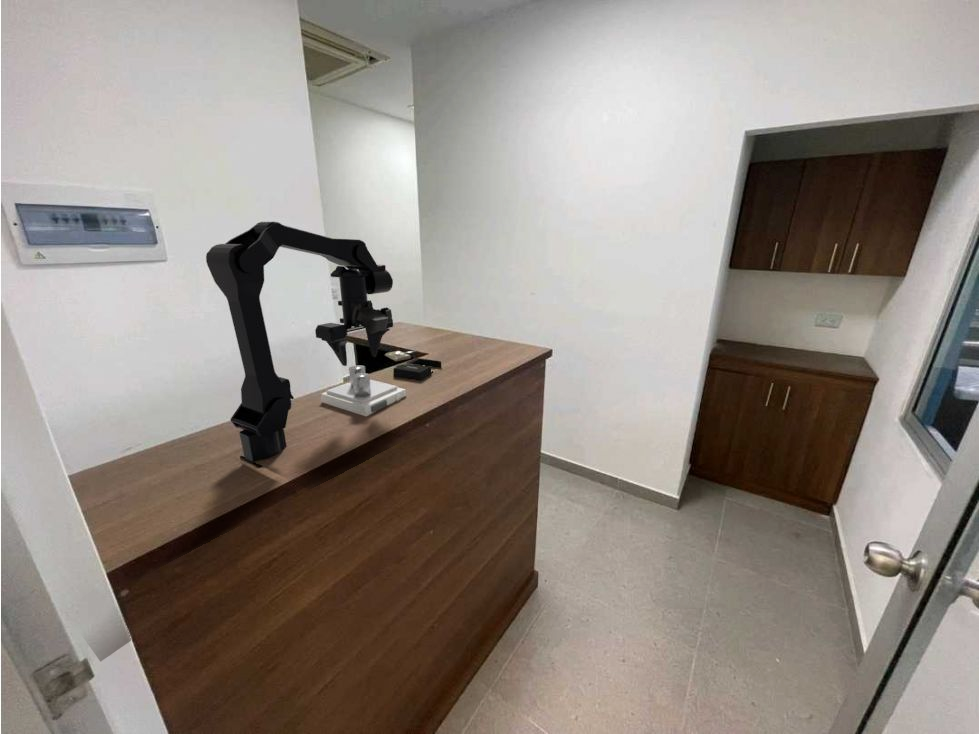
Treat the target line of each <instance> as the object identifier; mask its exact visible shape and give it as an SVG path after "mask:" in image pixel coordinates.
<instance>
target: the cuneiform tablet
mask: <svg viewBox="0 0 979 734" xmlns="http://www.w3.org/2000/svg"><path fill="white" fill-rule="evenodd" d="M416 352H417V351H416V350H410V351H409V350H408V351H405V352H404V351H403V352H402V351H400V350H396V351H390V352H386V353H385V354H384V356H385V357H387V358H389V359H390V360H392V361H394V362H400V361H404V360H409V359H411V357H412V356H411V355H410V354H411V353H416Z"/></svg>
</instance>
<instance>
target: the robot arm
mask: <svg viewBox="0 0 979 734" xmlns="http://www.w3.org/2000/svg"><path fill="white" fill-rule="evenodd" d="M280 248H283V249H289V250H293V251H298V252H303V253H305V254H306V253H308V254H311V255H316V256H320V257H323V258H325V259H326V260H327V261H329V262H331V263H333V264H335V265H337V266H336V267H335V269H334V270H333V271H332V272H331V273H330V277H331V278H338V279H339V280H338V281H339V289H340V298H341V299H340V300H337V305H338V306H341V308H342V310H341V311H342V317H341V318H339V323H334V322H327V323H323V324H318V325H317V326H316V328H315V329H314V330H315V338H318V339H321V341H324V342H326V343H327V344H328V346H329V347H330V348H331V350H332V351H333V352H334V355H335V356H336V357H337V359H338V361H339V362H340V364H341V365H342V367H347V366H348V357H347V344H348V342H349V338H346V337H347V335H348V333H350V332H355V331H359V330H364V329H365V333H366V338H367V342H368V346H369V350H370V354H371V357H374V358H376V357H377V355H378V352H379V348H380V344H381V342H382V338H383V336H384V335H385V334H386V333H387V332H388V331H390V328H394V320H393V314H392V309H391V308H389V307H381V309H379V308H378V309H375V308H374V305H373V302H372V300H370V299H369V300H368V295H375V294H383V293H388V292H390V291H391V290H392V288H393V285H394V279H393V277H392V275H391V273H390V272H389V271H388V270H387V269H386V265H385V264H377V263H376V261H375V259H374V257H373V256H372V253H371V252H370V251H369V249H368V247H367V244H366V243H365V241H363V240H362V239H353V238H351V239H350V238H333V237H332V238H331V237H328V236H324V235H321V234H318V233H314V232H311V231H306V230H303V229H298V228H296V227H292V226H289V225H284V224H282V223H280V222H278V221H259V222H257V223H256V224H254V226H252V227H251V228H250V229H248V230H246V231H244V232H243V233H240V234H238V235H236V236H234V237H233V238H231V239H230V240H228V241H227V242H225V243H219V244H218V243H217V244H215V245H214V246H212V247H211V248H210V249H209V250H208V251H207V253H206V256H205V259H206V260H205V261H206V264H207V265H206V266H207V267H208V269H209V272H210V275H211V276H212V279H213V281H214V283H215V284H216V286H217V287H218V289H219V290H220V291H221V293H222V294H223V295H224V297H225V298H226V300H227V302H228V303H227V304H228V307H229V312H230V315H231V319H232V325H233V329H234V332H235V336H236V341H237V346H238V350H239V354H240V359H241V361H242V366H243V367H242V368H243V370H244V378H243V379H244V380H243V382H242V385H241V386H240V395H241V397H240V398H241V403H240V404H239V406H238V407H237V409H236V410H235V412H234V413H233V415H232V416H231V417H230V422H231V424H233V426H234V428H236V429H241V431H239V433H238V434H239V438H240V442H241V447H242V452H243V455H240V456H239V459H240V460H241V461H243V462H246V463H248V464H250V465H252V466H254V467H255V468H262V467H263V465H261V464H259V463H257V462H258V461H265V460H268V459H271V458H274V457H275V456H277V455H280V453H281V452H282V450H284V449H285V448H287V440H286V439H287V438H286V433H285V428H286V426H287V421H288V415H289V411H290V410H291V409H292V400H294V398H295V397H294V396H293V394H292V391H291V390H292V389H291V382H290V380H289V379H288V378H284V377H280V376H279V375H277V373H276V371H275V366H274V362H273V357H272V352H271V347H270V342H269V337H268V333H267V327H266V323H265V318H264V314H263V308H262V303H261V299H260V295H261V293H262V289H263V286H264V284H265V266H266V265H267V264H268V263H269V262H270V261H272V259H274V258H275V255H276V254H277V252H278V250H279V249H280Z"/></svg>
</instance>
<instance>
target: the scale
mask: <svg viewBox="0 0 979 734" xmlns="http://www.w3.org/2000/svg"><path fill="white" fill-rule="evenodd" d="M370 388H371V395H370V396H367V397H362V398H359V397H355V396H354V388H352V387H351V383H350V381H349V382H346V383H344V384H340V385H339V386H336V387H335V386H334V387H332V388H329V389H327V390H326V389H325V390H326V391H325V392H322V393H320V397H321V403H322V404H327V405H329V406H333V407H335V408H339V409H342V410H345V411H348V412H351V413H355V414H357V415H360V416H363V417H368V416H370V415H372V414H373V413H375V412H377V411H380V410H381V409H384V408H385V407H388V406H389V405H391V404H392V403H395V402H398V401H400V400H401V399H402V398H404V397H406V395H407V392H406V389H405V388H401V387H398V386H397V385H393V384H390V383H385V382H382V381H378V380H373V379H370Z"/></svg>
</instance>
